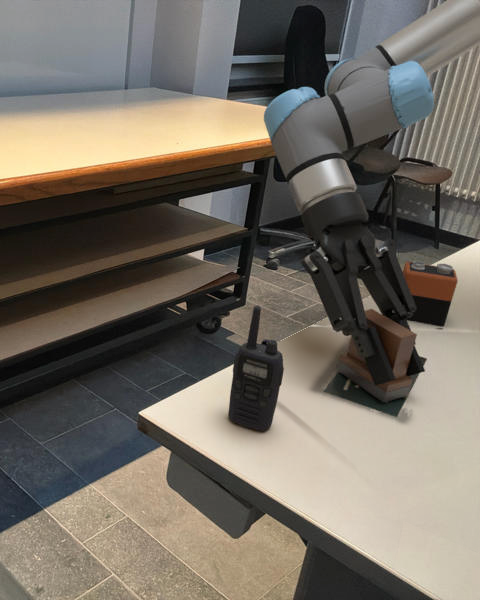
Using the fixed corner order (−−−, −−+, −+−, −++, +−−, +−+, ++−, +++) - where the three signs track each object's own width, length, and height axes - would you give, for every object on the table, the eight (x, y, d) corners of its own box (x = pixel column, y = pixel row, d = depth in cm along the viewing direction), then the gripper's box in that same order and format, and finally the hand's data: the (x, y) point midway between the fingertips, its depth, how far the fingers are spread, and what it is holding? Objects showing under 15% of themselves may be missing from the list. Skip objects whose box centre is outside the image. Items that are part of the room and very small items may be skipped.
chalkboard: (356, 342, 96) (358, 335, 96) (431, 365, 91) (434, 357, 91) (314, 399, 83) (315, 391, 83) (399, 430, 78) (401, 422, 78)
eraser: (335, 369, 87) (348, 311, 83) (359, 363, 89) (373, 305, 85) (383, 403, 81) (400, 341, 77) (407, 395, 82) (425, 334, 78)
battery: (441, 336, 99) (460, 274, 94) (391, 327, 101) (407, 265, 96) (439, 323, 102) (457, 262, 98) (391, 314, 104) (406, 255, 100)
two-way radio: (222, 421, 79) (238, 307, 72) (234, 402, 82) (251, 291, 76) (268, 437, 76) (290, 320, 70) (279, 417, 80) (301, 304, 73)
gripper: (359, 209, 93) (427, 371, 87) (258, 224, 86) (324, 400, 80) (399, 182, 86) (476, 356, 80) (292, 196, 80) (367, 386, 74)
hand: (399, 378), depth 80 cm, fingers closed on eraser, 4 cm apart
